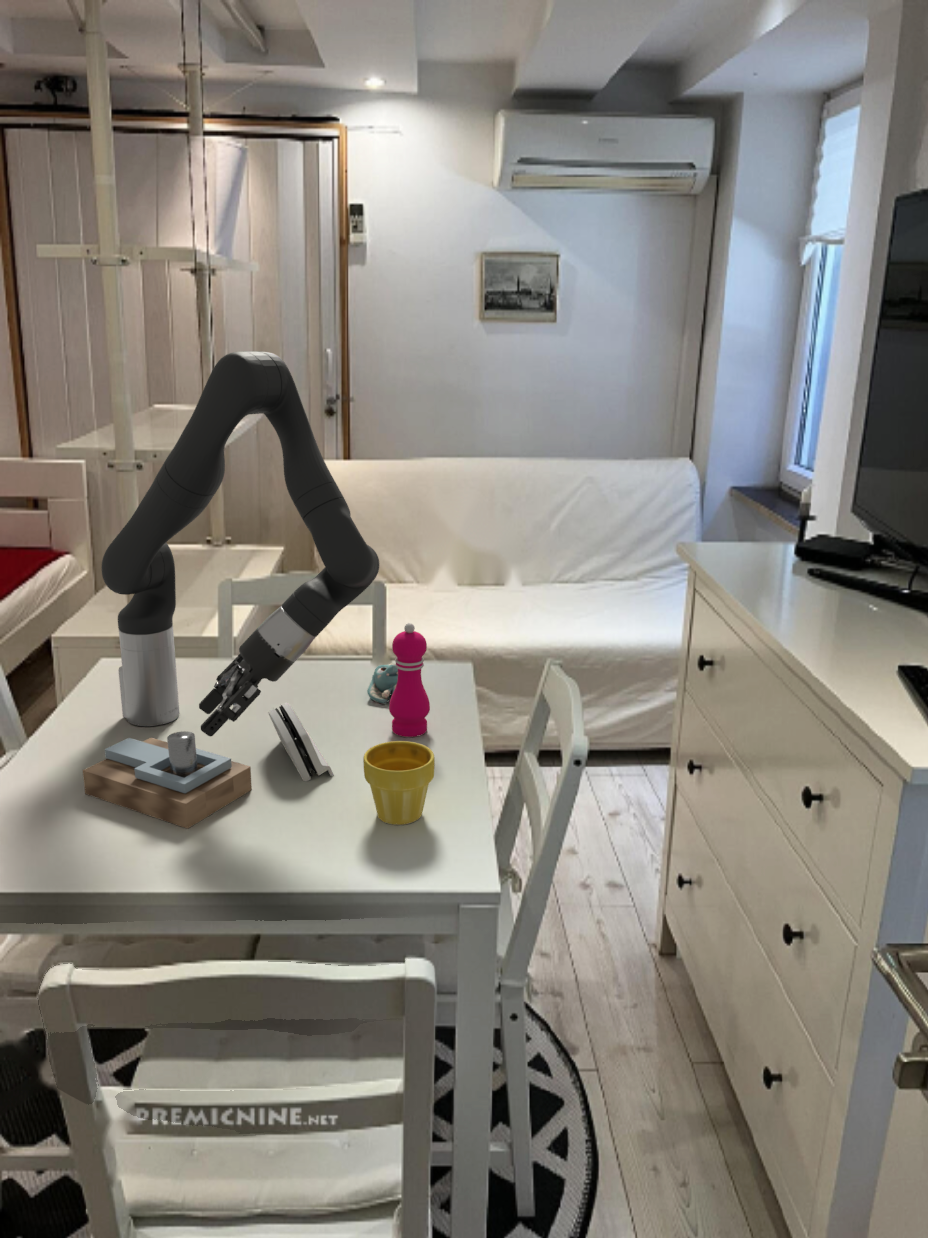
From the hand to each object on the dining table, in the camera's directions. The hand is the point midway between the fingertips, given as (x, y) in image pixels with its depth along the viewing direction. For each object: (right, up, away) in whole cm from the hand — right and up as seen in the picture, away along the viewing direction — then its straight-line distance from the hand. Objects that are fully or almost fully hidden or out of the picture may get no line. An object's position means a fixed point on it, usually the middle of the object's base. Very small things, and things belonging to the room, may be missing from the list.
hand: (204, 721), depth 151 cm
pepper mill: (+29, -5, +28) cm, 41 cm away
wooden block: (-7, -11, +5) cm, 14 cm away
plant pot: (+29, -14, -1) cm, 33 cm away
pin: (-3, -12, +3) cm, 13 cm away
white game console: (+12, -8, +16) cm, 22 cm away
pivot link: (-7, -7, +4) cm, 11 cm away
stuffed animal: (+26, 0, +43) cm, 50 cm away
